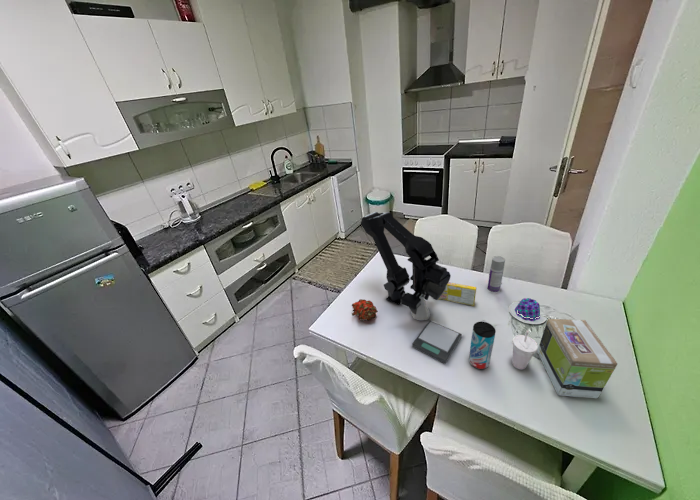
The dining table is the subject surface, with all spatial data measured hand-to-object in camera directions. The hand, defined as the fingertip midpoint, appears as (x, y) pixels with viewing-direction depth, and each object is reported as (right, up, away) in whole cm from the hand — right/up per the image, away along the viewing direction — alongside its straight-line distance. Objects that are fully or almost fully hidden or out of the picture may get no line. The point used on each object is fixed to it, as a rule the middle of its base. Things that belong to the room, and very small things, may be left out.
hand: (420, 306), depth 106 cm
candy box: (+15, +1, +6) cm, 16 cm away
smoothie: (+25, -14, -21) cm, 35 cm away
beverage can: (+14, -14, -19) cm, 27 cm away
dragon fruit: (-21, -5, +5) cm, 23 cm away
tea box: (+36, -15, -25) cm, 46 cm away
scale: (+3, -10, -10) cm, 15 cm away
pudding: (+38, -2, -4) cm, 39 cm away
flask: (+1, -4, +2) cm, 4 cm away
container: (+33, +5, +9) cm, 34 cm away
